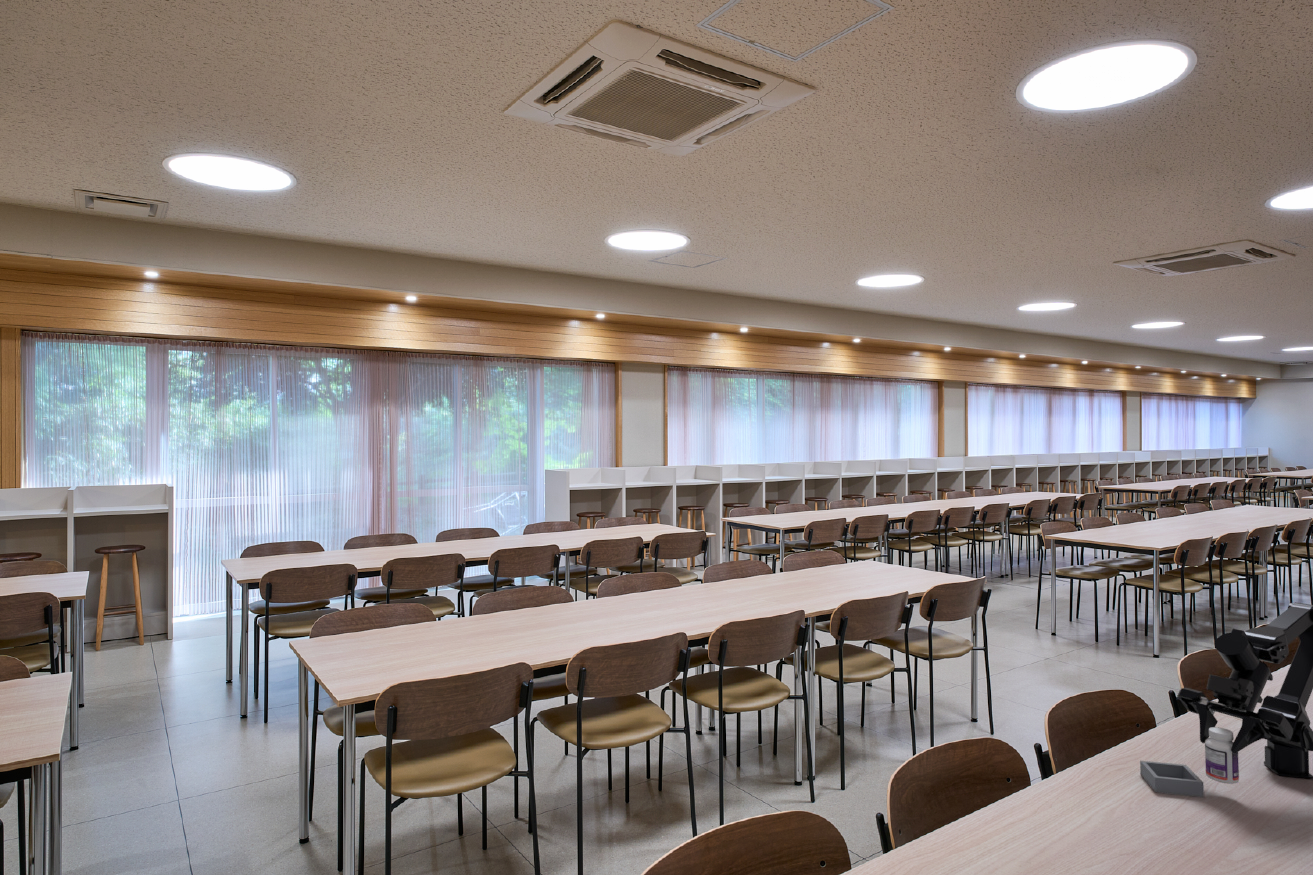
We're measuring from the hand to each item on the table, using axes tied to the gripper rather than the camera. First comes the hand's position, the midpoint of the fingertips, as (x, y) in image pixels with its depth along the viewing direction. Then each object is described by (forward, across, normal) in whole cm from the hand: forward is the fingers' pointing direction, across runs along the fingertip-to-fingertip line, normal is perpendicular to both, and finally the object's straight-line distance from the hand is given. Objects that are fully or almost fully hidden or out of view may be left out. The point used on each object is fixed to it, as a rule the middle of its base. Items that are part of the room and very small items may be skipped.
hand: (1217, 746), depth 149 cm
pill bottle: (+4, 0, +6) cm, 7 cm away
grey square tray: (+9, -8, +5) cm, 13 cm away
